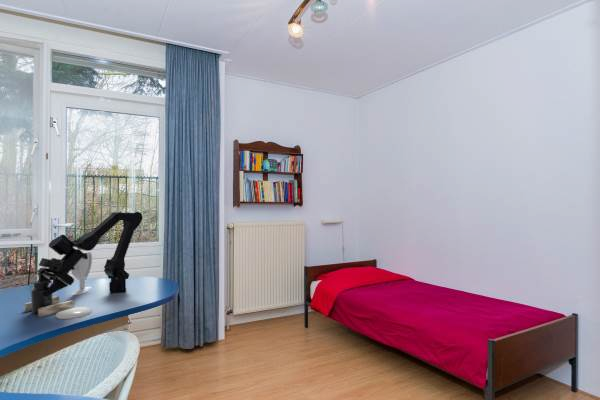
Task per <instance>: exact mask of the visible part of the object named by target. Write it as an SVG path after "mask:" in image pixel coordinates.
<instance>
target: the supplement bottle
mask: <svg viewBox="0 0 600 400" xmlns="http://www.w3.org/2000/svg"><path fill="white" fill-rule="evenodd" d="M49 287H50V284H49V281H48V280H41V281H38V280H37V281H34V282H33V289H32V290H31V292H30V302H31V305H32V310H31V313H32V314H34V315H38V308H42V307H46V306H50V305H53V300H52V297H53V293H52V294H50V295H48V296H44V294H45V292H46V291H47V289H48V288H49ZM34 288H35V289H34Z"/></svg>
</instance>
